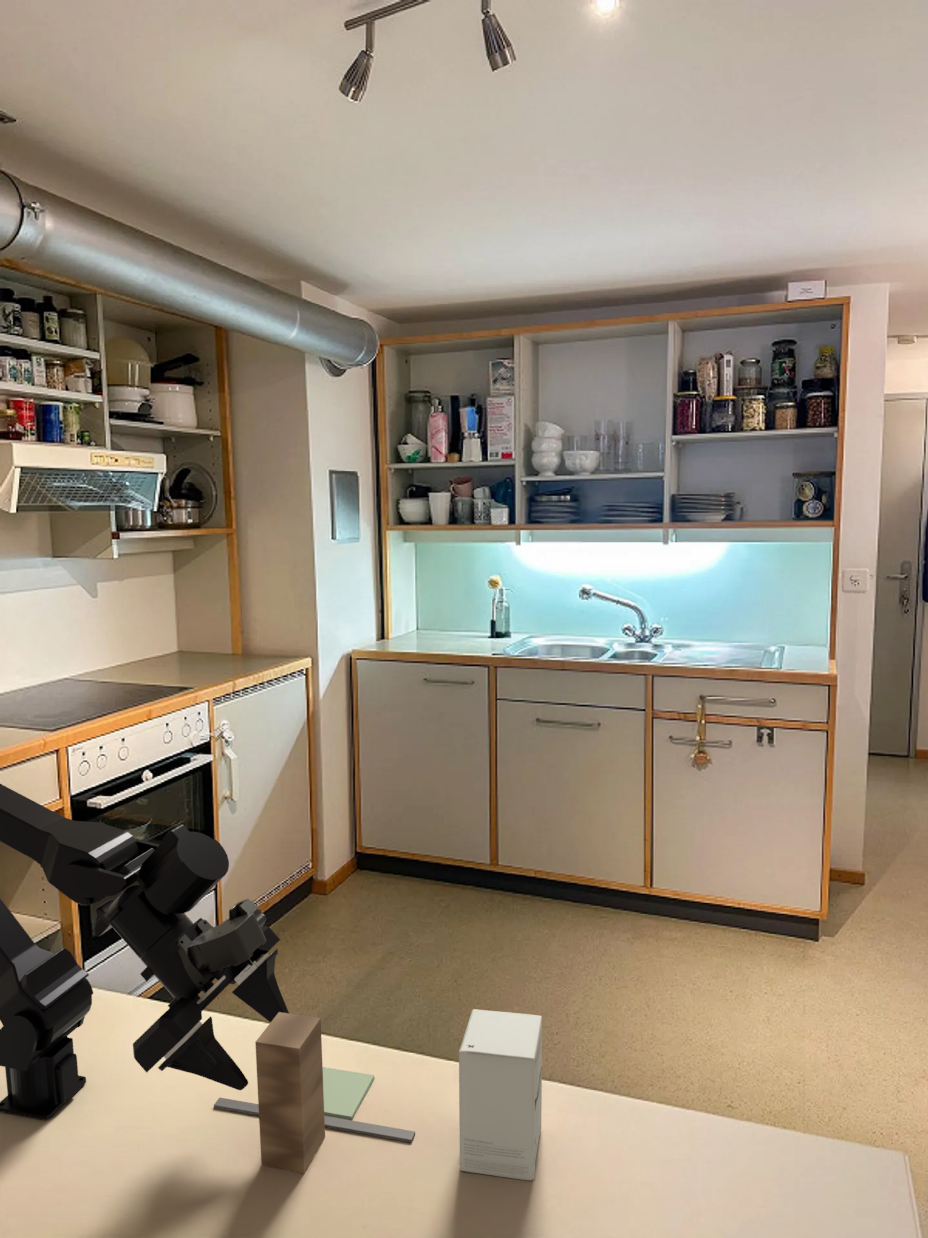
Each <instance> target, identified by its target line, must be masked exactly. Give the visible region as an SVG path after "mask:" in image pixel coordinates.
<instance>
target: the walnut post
mask: <svg viewBox="0 0 928 1238" xmlns="http://www.w3.org/2000/svg"><path fill="white" fill-rule="evenodd" d="M321 1021H322V1018H321V1017H317V1016H316V1017H315V1016H308V1015H302V1014H293V1013H290V1012H289V1013H282V1012H279V1013H278V1014H277V1015H276V1016H275V1018H274V1019H273V1020H272V1022H269V1024H268V1025H267V1027H266V1028H265V1029H264V1030H263V1031H262V1033H261V1034H260V1035H259V1036H258V1038H257V1039H256V1040H255V1042H254V1043H255V1062H256V1081H257V1084H256V1085H257V1098H258V1099H257V1101H258V1103H257V1104H258V1105H259V1115H258V1119H259V1121H258V1123H259V1124H258V1125H259V1140H260V1141H259V1142H260V1143H259V1144H260V1161H261V1162H260V1164H261V1166H262V1167H266V1168H272V1169H278V1170H281V1171H282V1170H284V1171H288V1172H294V1173H298V1174H299V1173H300V1174H303V1175H304V1174H305V1173H307V1170H308V1168H309V1166H310V1164H311V1163H312V1161H313V1160H314V1157H315V1155H316V1154H317V1152H318V1151H319V1149H320V1147H321V1145H322V1144H323V1142H324V1140H325V1139H326V1127H325V1121H324V1116H325V1115H324V1094H323V1067H324V1066H323V1048H322V1047H323V1045H322V1022H321Z"/></svg>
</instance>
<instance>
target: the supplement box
mask: <svg viewBox="0 0 928 1238" xmlns="http://www.w3.org/2000/svg"><path fill="white" fill-rule="evenodd" d="M542 1028H543V1017H542V1015H539V1014H529V1013H519V1012H517V1013H516V1012H510V1011H509V1012H508V1011H497V1010H496V1011H495V1010H488V1009H487V1010H486V1009H475V1008H473V1009H471V1013H470V1016H469V1020H468V1022H467V1025H466V1029H465V1032H464V1035H463V1038H462V1041H461V1045H460V1048H459V1051H458V1072H459V1073H458V1084H459V1086H458V1089H459V1092H458V1094H459V1095H458V1096H459V1098H458V1099H459V1101H458V1103H459V1108H458V1109H459V1113H458V1114H459V1170H460V1171H462V1172H468V1173H472V1174H473V1173H475V1174H482V1175H487V1176H495V1177H500V1178H501V1177H502V1178H509V1179H516V1180H522V1181H533V1180H534V1179H535V1169H536V1168H535V1167H536V1159H537V1154H538V1149H539V1148H538V1147H539V1141H540V1136H541V1135H540V1134H541V1132H542V1103H543V1102H542V1100H543V1099H542V1093H543V1091H542V1088H543V1085H542V1084H543V1082H542V1081H543V1074H542V1073H543V1053H542V1052H543V1050H542V1049H543V1047H542V1046H543V1045H542V1044H543V1032H542V1031H543V1029H542Z"/></svg>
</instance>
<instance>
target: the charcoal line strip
mask: <svg viewBox="0 0 928 1238" xmlns="http://www.w3.org/2000/svg"><path fill="white" fill-rule="evenodd" d="M213 1108H215V1109H220V1110H221V1109H222V1110H226V1111H232V1112H237V1113H242V1114H249V1115H255V1116H259V1105H258V1103H255V1102H254V1103H253V1102H248V1101H241V1100H236V1099H230V1098H226V1097H219V1098H217V1100H216V1101H215V1103H214V1104H213ZM324 1121H325V1128H328V1129H334V1130H339V1131H344V1132H349V1133H356V1134H362V1135H366V1136H367V1135H368V1136H373V1137H379V1138H384V1139H390V1140H396V1141H400V1142H401V1141H402V1142H407V1143H413V1140H414V1137H415V1136H416V1131H414V1130H409V1129H403V1128H397V1127H392V1126H391V1127H390V1126H386V1125H380V1124H375V1123H368V1122H362V1121H356V1120H353V1119H352V1120H348V1119H342V1118H336V1117H331V1116H325V1115H324Z"/></svg>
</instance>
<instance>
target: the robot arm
mask: <svg viewBox="0 0 928 1238" xmlns="http://www.w3.org/2000/svg"><path fill="white" fill-rule="evenodd" d="M0 843H2V844H4V845H5V846H7V847H9V848H11V849H12V850H15V852H16V851H17V852H18V853H21V854H22V855H24V856H26V857H28V858H29V859H31V860H32V861H35V862H36V864H38V865H40V866H41V868H42V870H43V872H44V876H45V878H46V881H47V882H48V883H49V884H50V885H51V886H53V887H54V888H56V890H58V891H60V893H61V894H63V895H64V896H65V897H67V898H68V899H70V900H71V901H73V902H74V903H76V904H78V905H80V906H91V905H93V904H96V903H98V902H100V901H101V900H103V899H105V898H106V897H113V896H116V895H118V894H119V893H120V894H119V896H117V898H116V899H107V901H105V902H103V903H101V904H100V905H99V906H97V907H96V908H95V914H96V916H95V917H96V919H95V920H96V921H95V923H94V931H93V932H94V935H95V936H96V937H101V936H102V935H104V934H105V933H106V932H108V931H110V929H112V928H113V930H114V931H115V932H116V933H117V934H118V935H119V937H121V939H122V940H123V941H124V942H125V943H126V945H127V946H128V947H129V948H130V949H131V951H133V953H134V954H135V955H136V956H137V957H138V958H139V959H140V961H141V962H142V963H143V964H144V965H145V966H146V967H145V969H143V970H142V971H141V973H140V974H139V975H141V977H142V978H143V979H144V981H146V982H149V980H150V979H152V978H153V977H155V978H156V979H157V980H158V981H159V983H160V984H161V985H162V986H163V987H164V988H165V989H166V990H167V992H168V993H169V994H170V995H171V996H172V997H173V999H172V1000H171V1002H170V1003H169V1004H168V1005H167V1007H168V1009H167V1010H166V1011H165V1012H164V1013H163V1014H162V1015H161V1016H160V1017H159V1018H158V1019H157V1020H155V1022H153V1024H151V1026H149V1027H148V1029H146V1030H145V1031H144V1033H142V1034H141V1036H140V1037H138V1038H137V1039H136V1040H135V1041H134V1042H133V1043H132V1049H133V1058H134V1059H135V1061H136V1062H137V1063H138V1064H139V1066H140V1067H141V1068H142V1069H143V1070H144V1072H145V1073H146V1074H147V1073H148V1072H149V1071H150V1070H151V1069H152V1068H153V1067H154V1066H156V1065H157V1064H158V1063H159V1062H160V1061H161V1060H162V1059H163V1058H164V1059H165V1060H163V1062H162V1063H160V1065H159V1066H158V1067H157V1068H158V1070H159V1071H161V1072H163V1071H164V1070H165V1069H166V1068H170V1069H173V1070H178V1071H181V1072H185V1073H189V1074H192V1075H196V1076H200V1077H202V1078H205V1079H208V1080H211V1081H213V1082H215V1083H216V1082H217V1083H219V1084H221V1085H223V1086H224V1085H225V1086H226V1087H229V1088H232V1089H235V1090H237V1091H242V1090H244V1089H245V1088H246V1087H247V1086H248V1084H249V1081H248V1079H247V1077H246V1076H245V1074H244V1073H243V1071H242V1070H241V1068H240V1067H239V1065H238V1064H237V1063H236V1062H235V1061H234V1059H233V1058H232V1057H231V1056H230V1055H229V1053H228V1052H227V1050H225V1048H224V1047H223V1046H222V1044H220V1042H219V1040H217V1039H216V1037H215V1034H214V1033H215V1032H214V1025H213V1018H212V1016H209V1017H208V1018H207V1019H206V1020H205V1021H204V1022H201V1020H203V1015H202V1014H203V1013H202V1012H203V1011H204V1010H205V1009H206V1008H207V1007H208V1006H209V1005H210V1004H211V1003H212V1002H213V1001H214V1000H215V999H216V998H217V997H218V996H219V995H220V994H222V992H223V991H224V990H225V989H226V988H227V987H228V986H229V985H236V984H237V986H236V987H235V988H234V990H232V991H231V993H232V994H233V995H235V997H237V998H238V999H239V1000H241V1001H242V1002H243V1003H245V1004H246V1005H247V1006H249V1007H250V1009H252V1010H254V1011H255V1012H256V1013H258V1014H259V1015H260V1016H262V1017H263V1018H264V1019H265V1020H267V1021H268V1022H269V1023H271V1022H272V1020H273V1019H274V1018H275V1016H276V1015H277V1014H278V1013H279V1012H282V1013H289V1014H290V1012H289V1010H288V1006H287V1005H286V1002H285V999H284V996H283V995H282V992H281V990H280V988H279V985H278V982H277V981H278V980H277V978H276V974H275V968H276V967H275V966H276V958H277V955H279V949H278V948H275V949H274V951H273V952H271V953H270V954H269V952H270V951H271V950H272V949H273V948H274V946H276V945H277V944H278V942H279V941H280V940H281V939H280V938H279V936H277V935H276V933H275V932H274V931H273V929H271V928H270V926H265V923H266V921H267V917H266V915H265V914H264V913H262V910H261V909H260V907H258V906H257V905H256V904H255V903H254V902H253V901H251V899H249V898H246V899H243V900H241V901H238V902H237V903H236V904H234V905H233V907H231V908H230V909H229V911H228V918H227V919H225V920H224V921H223V922H222V923H220V924H218V925H216V926H213V925H212V924H211V923H210V922H208V921H207V920H206V919H203V918H202V917H200V918H198V919H197V920H196V921H195V922H193V921H192V920H191V918H189V917H188V916H187V914H186V913H188V912H190V911H192V910H193V909H194V908H195V907H196V906H197V905H198V904H199V902H201V901H202V899H204V898H205V896H206V895H207V894H208V893H209V892H210V891H211V890H213V888H214V887H215V886H216V885H217V884H219V882H220V881H221V880H222V879H223V878H224V877H225V876H226V875H227V873H228V872H229V867H230V861H229V856H228V854H227V852H226V850H225V848H224V847H223V845H222V844H221V843H220V842H219V841H218V840H217V839H213V838H211V837H210V836H208V835H206V834H204V833H202V832H198V831H190V830H188V828H187V827H186V826H185V825H184V824H178V825H177V826H176V827H174V828H173V829H171V830H169V831H168V832H167V833H166V835H165V836H164V837H163V838H162V839H161V842H160V844H158V843H154V842H150V841H147V840H144V839H139V838H136V837H134V836H133V834H131V833H130V832H129V831H126V830H124V829H121V828H118V827H115V826H111V825H110V824H105V823H103V822H99V821H83V820H81V821H80V820H74V819H70V818H67V817H65V816H63V815H61V814H59V813H57V812H55V811H53V810H52V809H49V808H48V807H45V806H43V805H42V804H40V803H38V802H37V801H34V800H32V799H30V798H28V797H26V796H24V795H23V794H20V793H19V792H17V791H15V790H14V789H11V788H10V787H7V786H6V785H4V784H2V783H0ZM136 882H137V883H138V884H135V883H136ZM134 884H135V885H134ZM89 976H90V974H89V973H88V971H86V970H84V969H83V968H82V967H81V966H80V965H79V963H78V962H77V961H76V959H75V958H74V956H73V953H72V952H71V950H69V949H67V948H65V947H62V948H61V949H59V950H58V951H55V952H52V951H49V950H46V949H44V948H41V947H39V946H38V945H37V944H36V943H35V941H34V940H33V939H32V937H30V935H29V933H28V932H27V931H26V930H25V928H24V927H23V926H22V924H21V923H20V922H19V920H17V918H16V916H15V915H14V914H13V913H12V911H11V910H10V909H9V908H8V906H7V904H6V903H5V902H4V901H3V900H2V898H1V897H0V1022H1V1024H2V1027H1V1028H0V1067H4V1070H5V1079H6V1089H7V1095H6V1096H5V1097H4V1098H2V1100H0V1112H1V1113H6V1114H7V1113H8V1114H12V1115H18V1116H23V1117H27V1118H28V1117H29V1118H33V1119H38V1120H42V1121H43V1120H45V1121H46V1120H48V1119H50V1118H52V1116H53V1115H54V1114H55V1113H57V1111H58V1110H60V1108H62V1107H63V1106H64V1105H65V1104H66V1103H67V1102H68V1101H69V1100H70V1099H71V1098H72V1097H73V1096H74V1095H75V1094H76V1093H77V1092H78V1091H79V1090H80V1089H81V1088H82V1087H83V1086H85V1084H86V1083H87V1077H86V1076H83V1075H79V1069H78V1055H77V1054H76V1053H74V1039H73V1037H68V1036H69V1035H70V1034H71V1033H73V1032H74V1031H75V1030H77V1028H80V1027H81V1026H82V1025H83V1024H84V1020H85V1017H86V1016H87V1015H88V1013H89V1012H90V1011H91V1008H92V1004H93V1003H92V1002H93V1000H92V999H93V995H94V991H93V987H92V984H91V983H90V981H89V980H88V979H87V978H88V977H89ZM215 979H216V982H215V983H213V981H214V980H215ZM202 992H203V995H202V996H201V997H200V996H199V994H200V993H202Z"/></svg>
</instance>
